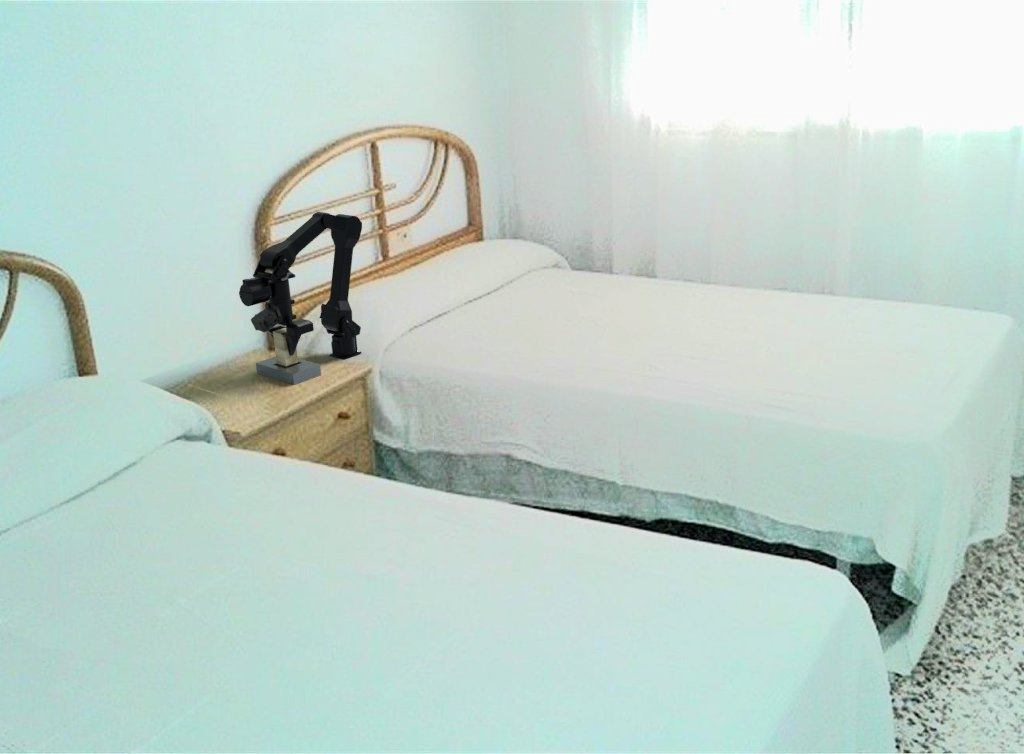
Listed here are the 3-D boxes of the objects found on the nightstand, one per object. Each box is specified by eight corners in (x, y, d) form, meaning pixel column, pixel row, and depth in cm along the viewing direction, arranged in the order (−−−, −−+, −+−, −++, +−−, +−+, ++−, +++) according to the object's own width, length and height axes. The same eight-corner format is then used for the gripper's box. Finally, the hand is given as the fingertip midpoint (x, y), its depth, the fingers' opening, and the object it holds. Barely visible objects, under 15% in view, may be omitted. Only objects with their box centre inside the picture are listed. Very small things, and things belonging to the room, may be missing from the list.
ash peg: (288, 359, 280) (284, 327, 277) (298, 362, 277) (294, 330, 274) (276, 363, 277) (272, 331, 274) (286, 366, 274) (282, 333, 271)
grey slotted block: (283, 364, 286) (282, 354, 285) (321, 375, 276) (319, 364, 275) (257, 373, 280) (255, 362, 279) (294, 384, 270) (292, 373, 269)
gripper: (232, 299, 271) (240, 355, 276) (276, 309, 260) (284, 368, 265) (267, 289, 279) (274, 344, 284) (311, 299, 267) (318, 356, 273)
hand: (286, 353), depth 276 cm, fingers closed on ash peg, 4 cm apart
